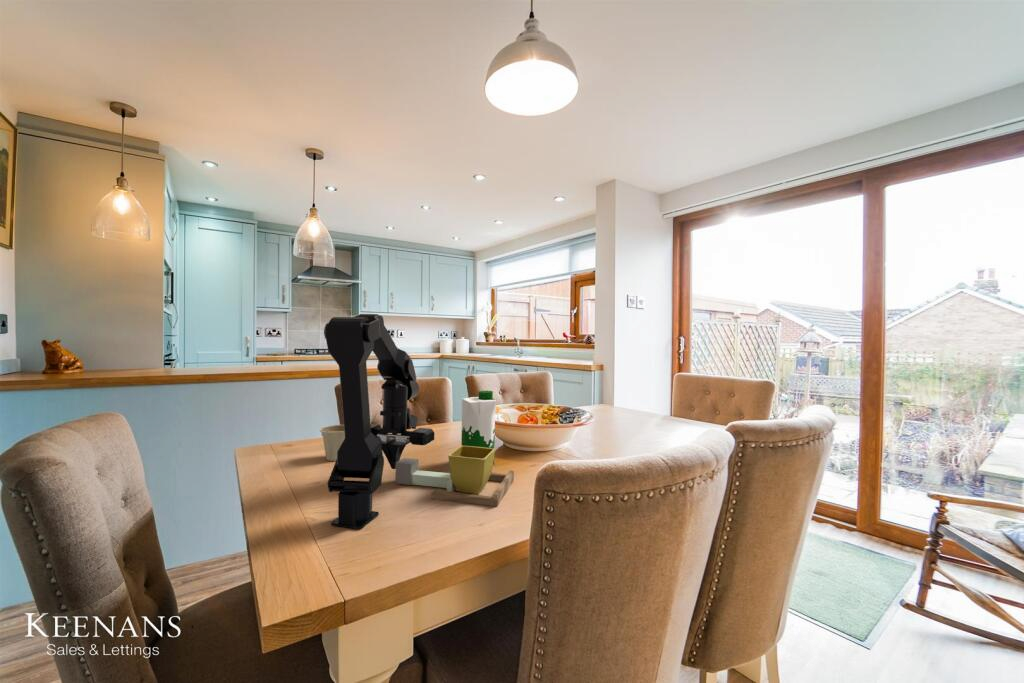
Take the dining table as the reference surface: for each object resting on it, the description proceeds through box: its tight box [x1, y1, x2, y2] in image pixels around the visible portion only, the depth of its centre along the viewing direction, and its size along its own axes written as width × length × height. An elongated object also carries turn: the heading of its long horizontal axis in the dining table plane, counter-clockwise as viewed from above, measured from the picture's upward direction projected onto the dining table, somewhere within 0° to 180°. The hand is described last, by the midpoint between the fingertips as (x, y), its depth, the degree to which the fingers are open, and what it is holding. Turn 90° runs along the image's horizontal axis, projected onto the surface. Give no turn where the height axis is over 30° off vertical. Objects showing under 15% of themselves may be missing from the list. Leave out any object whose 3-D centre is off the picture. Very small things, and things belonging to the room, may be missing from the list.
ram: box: [394, 457, 456, 492], centre depth 99 cm, size 8×15×5 cm, turn 77°
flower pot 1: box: [319, 424, 345, 462], centre depth 118 cm, size 9×9×9 cm
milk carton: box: [461, 390, 498, 465], centre depth 116 cm, size 9×9×20 cm
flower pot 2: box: [447, 445, 496, 495], centre depth 96 cm, size 9×9×9 cm
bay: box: [431, 470, 515, 507], centre depth 96 cm, size 15×15×2 cm
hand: (394, 468), depth 101 cm, fingers closed
